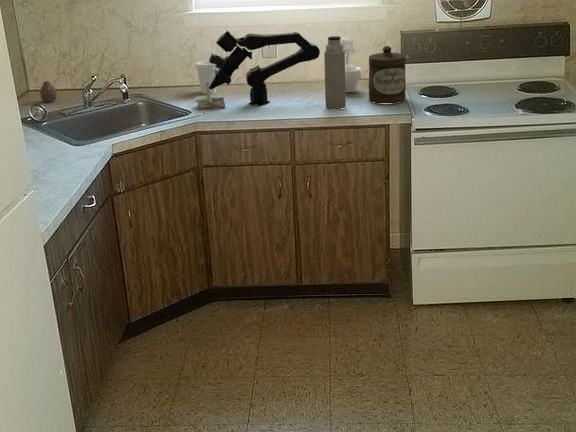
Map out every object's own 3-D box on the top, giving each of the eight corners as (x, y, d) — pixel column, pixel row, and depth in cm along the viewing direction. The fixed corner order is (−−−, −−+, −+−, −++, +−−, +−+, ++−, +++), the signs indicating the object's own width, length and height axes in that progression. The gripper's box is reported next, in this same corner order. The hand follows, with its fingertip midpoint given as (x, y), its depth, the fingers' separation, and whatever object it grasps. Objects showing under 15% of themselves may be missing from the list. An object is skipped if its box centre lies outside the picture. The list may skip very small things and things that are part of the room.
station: (224, 103, 336) (223, 96, 335) (225, 108, 328) (224, 101, 327) (198, 105, 335) (197, 98, 334) (198, 110, 327) (197, 103, 326)
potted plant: (332, 89, 351) (331, 31, 342) (359, 87, 352) (358, 29, 342) (336, 96, 340) (335, 36, 330) (363, 94, 340) (363, 34, 331)
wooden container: (374, 106, 322) (374, 51, 313) (364, 97, 335) (364, 44, 327) (410, 103, 324) (411, 48, 316) (398, 94, 337) (399, 41, 329)
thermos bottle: (331, 104, 327) (329, 34, 317) (349, 106, 323) (348, 35, 313) (322, 108, 321) (320, 38, 310) (340, 110, 317) (338, 39, 307)
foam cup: (218, 94, 352) (216, 64, 347) (197, 94, 352) (194, 65, 347) (220, 89, 361) (218, 60, 356) (199, 89, 361) (197, 60, 356)
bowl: (212, 102, 334) (212, 97, 333) (212, 106, 329) (212, 101, 328) (197, 103, 334) (197, 98, 333) (198, 107, 328) (197, 102, 327)
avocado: (49, 99, 357) (46, 79, 353) (61, 100, 353) (58, 80, 350) (38, 102, 351) (34, 82, 348) (49, 104, 348) (46, 84, 345)
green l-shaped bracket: (210, 97, 333) (208, 79, 330) (210, 100, 328) (209, 82, 325) (195, 98, 333) (194, 80, 330) (195, 101, 327) (194, 83, 324)
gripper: (219, 42, 331) (194, 71, 335) (220, 50, 314) (194, 80, 317) (239, 60, 335) (214, 88, 338) (242, 69, 318) (216, 98, 321)
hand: (209, 88), depth 329 cm, fingers closed, pressing on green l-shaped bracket
